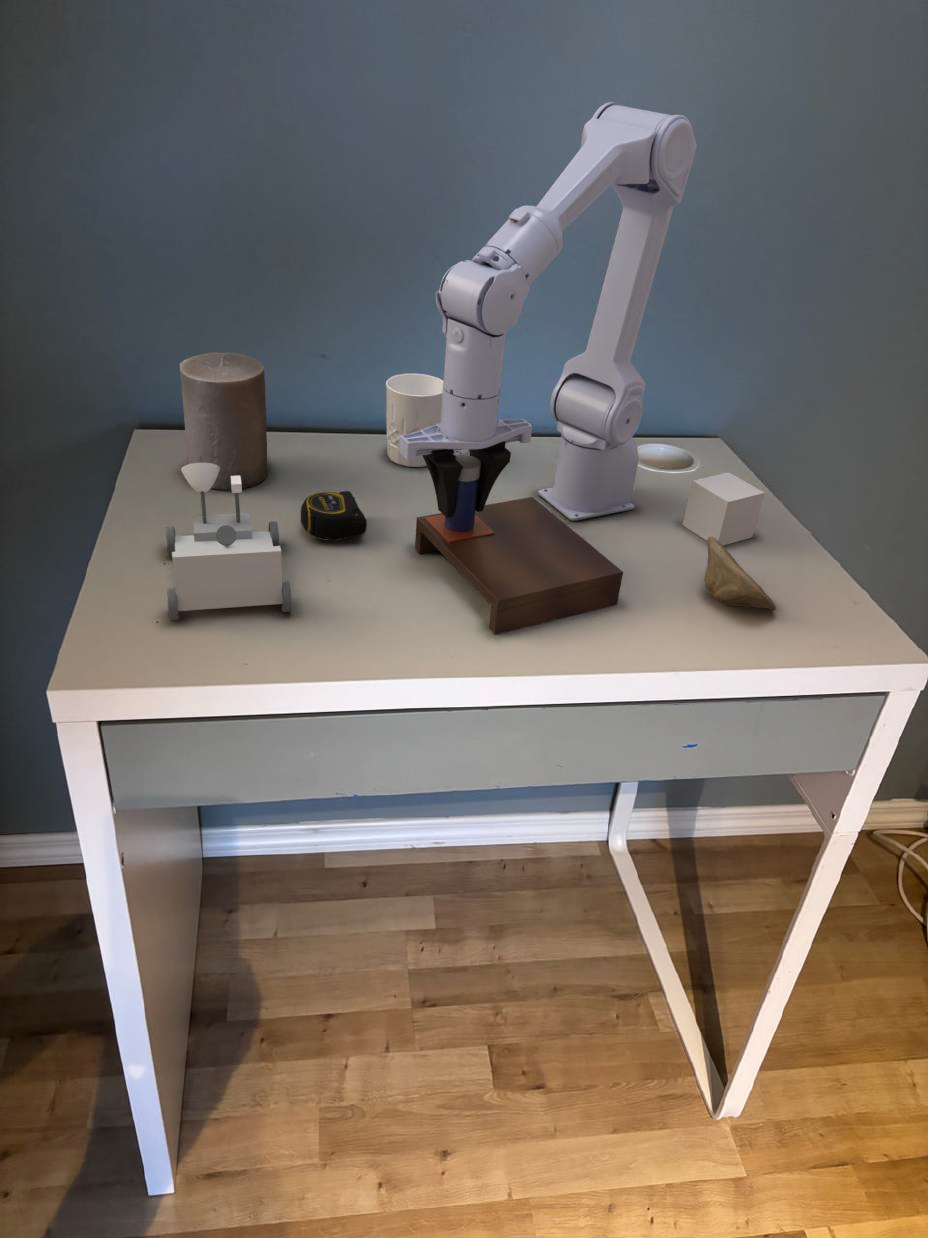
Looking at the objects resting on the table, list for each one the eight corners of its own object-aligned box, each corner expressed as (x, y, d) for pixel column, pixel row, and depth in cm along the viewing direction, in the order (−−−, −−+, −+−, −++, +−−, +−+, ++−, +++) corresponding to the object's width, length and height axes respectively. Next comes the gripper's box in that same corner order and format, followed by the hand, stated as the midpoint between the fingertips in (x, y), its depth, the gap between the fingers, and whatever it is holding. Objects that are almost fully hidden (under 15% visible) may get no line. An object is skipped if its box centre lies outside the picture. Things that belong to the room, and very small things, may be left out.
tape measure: (367, 544, 110) (368, 514, 108) (306, 549, 108) (306, 518, 106) (354, 515, 115) (355, 486, 113) (296, 519, 113) (295, 490, 111)
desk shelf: (528, 526, 117) (532, 494, 114) (617, 604, 104) (624, 570, 101) (414, 548, 110) (416, 515, 108) (494, 634, 97) (498, 598, 95)
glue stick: (465, 515, 109) (471, 452, 105) (480, 529, 106) (486, 465, 102) (438, 520, 107) (442, 457, 103) (452, 534, 105) (458, 470, 101)
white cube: (682, 525, 120) (692, 480, 117) (717, 515, 123) (728, 472, 120) (716, 547, 116) (728, 501, 113) (752, 537, 119) (764, 492, 116)
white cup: (389, 441, 134) (392, 370, 128) (447, 448, 133) (452, 377, 128) (377, 465, 127) (380, 391, 122) (437, 473, 127) (442, 399, 121)
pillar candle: (272, 458, 126) (269, 343, 118) (262, 493, 118) (258, 372, 110) (195, 454, 126) (186, 338, 117) (180, 488, 118) (169, 366, 109)
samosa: (764, 585, 98) (702, 522, 104) (731, 614, 99) (671, 551, 104) (786, 612, 105) (727, 552, 111) (755, 639, 106) (698, 579, 112)
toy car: (159, 452, 103) (271, 448, 106) (168, 534, 108) (274, 529, 111) (160, 536, 89) (290, 529, 91) (170, 626, 94) (292, 617, 97)
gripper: (513, 368, 104) (500, 484, 112) (388, 382, 98) (383, 504, 105) (548, 392, 99) (532, 512, 107) (419, 408, 93) (412, 534, 100)
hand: (460, 510), depth 106 cm, fingers closed on glue stick, 3 cm apart
